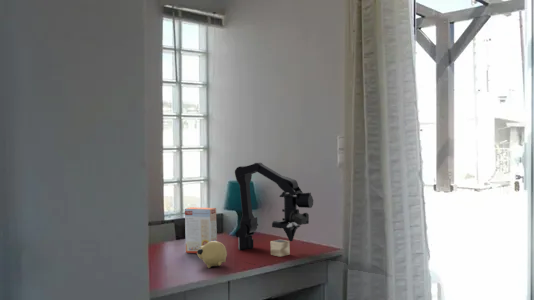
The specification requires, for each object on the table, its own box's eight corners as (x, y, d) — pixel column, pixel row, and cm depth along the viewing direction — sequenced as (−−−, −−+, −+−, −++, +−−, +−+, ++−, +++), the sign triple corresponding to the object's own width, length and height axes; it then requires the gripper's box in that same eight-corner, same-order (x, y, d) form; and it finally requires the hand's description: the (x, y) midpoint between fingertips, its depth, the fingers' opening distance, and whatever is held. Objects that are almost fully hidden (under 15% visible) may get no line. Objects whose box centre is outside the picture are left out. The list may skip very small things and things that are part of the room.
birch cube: (280, 256, 220) (279, 242, 220) (270, 254, 224) (270, 241, 224) (289, 254, 224) (289, 240, 224) (280, 252, 229) (280, 239, 228)
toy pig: (203, 263, 213) (203, 238, 213) (230, 264, 210) (229, 239, 210) (194, 268, 204) (193, 242, 204) (221, 270, 200) (221, 243, 200)
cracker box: (217, 252, 234) (216, 207, 234) (211, 255, 229) (210, 209, 229) (192, 250, 240) (191, 206, 240) (185, 252, 235) (184, 208, 235)
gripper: (288, 210, 217) (289, 246, 217) (317, 206, 229) (317, 240, 230) (270, 208, 225) (271, 243, 225) (299, 204, 238) (300, 237, 238)
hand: (291, 241), depth 229 cm, fingers closed
